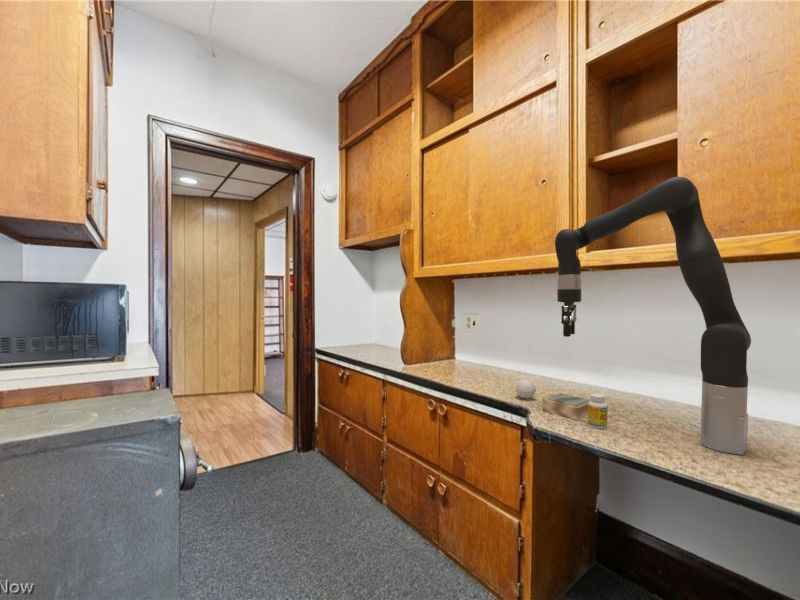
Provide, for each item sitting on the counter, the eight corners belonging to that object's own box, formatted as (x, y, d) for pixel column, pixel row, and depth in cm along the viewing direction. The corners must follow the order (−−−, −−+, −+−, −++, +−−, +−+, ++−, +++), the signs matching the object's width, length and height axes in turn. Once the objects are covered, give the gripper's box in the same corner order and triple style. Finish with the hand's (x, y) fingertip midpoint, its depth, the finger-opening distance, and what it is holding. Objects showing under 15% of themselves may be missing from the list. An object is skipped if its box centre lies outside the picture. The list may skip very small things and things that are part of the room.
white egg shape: (531, 402, 140) (531, 382, 139) (512, 398, 145) (512, 379, 144) (541, 396, 147) (541, 378, 147) (522, 393, 152) (523, 375, 152)
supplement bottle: (593, 421, 120) (593, 391, 120) (610, 426, 116) (611, 395, 115) (584, 425, 117) (584, 394, 117) (601, 430, 113) (602, 398, 112)
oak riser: (594, 412, 129) (594, 400, 128) (577, 420, 121) (577, 407, 121) (559, 404, 138) (560, 392, 138) (542, 411, 130) (542, 398, 130)
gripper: (578, 288, 122) (577, 338, 122) (584, 288, 134) (584, 333, 134) (553, 288, 126) (553, 336, 126) (561, 288, 138) (561, 332, 138)
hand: (569, 335), depth 130 cm, fingers open, 8 cm apart
